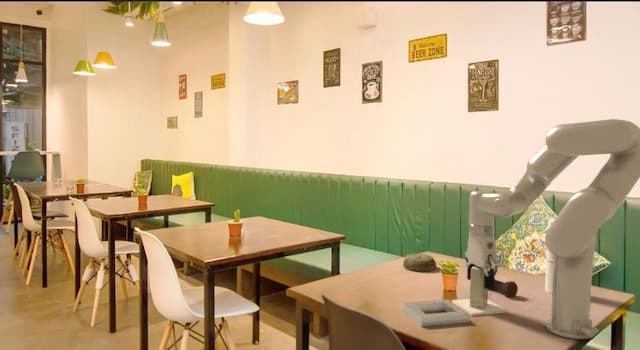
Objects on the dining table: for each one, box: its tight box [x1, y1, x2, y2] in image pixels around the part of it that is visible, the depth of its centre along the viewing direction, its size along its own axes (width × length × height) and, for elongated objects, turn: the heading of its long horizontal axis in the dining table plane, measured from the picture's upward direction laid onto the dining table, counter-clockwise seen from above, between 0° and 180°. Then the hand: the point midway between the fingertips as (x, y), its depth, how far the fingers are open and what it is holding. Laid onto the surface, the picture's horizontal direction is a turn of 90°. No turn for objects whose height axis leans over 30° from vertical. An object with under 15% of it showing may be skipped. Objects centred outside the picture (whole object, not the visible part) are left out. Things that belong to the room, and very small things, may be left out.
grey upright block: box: [469, 265, 490, 308], centre depth 153 cm, size 6×4×12 cm
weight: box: [402, 253, 437, 272], centre depth 200 cm, size 14×13×5 cm
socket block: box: [402, 298, 470, 327], centre depth 145 cm, size 13×15×2 cm
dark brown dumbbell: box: [490, 279, 519, 298], centre depth 170 cm, size 6×5×15 cm
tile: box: [451, 298, 508, 317], centre depth 153 cm, size 12×12×1 cm
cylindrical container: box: [544, 218, 556, 294], centre depth 169 cm, size 7×7×25 cm
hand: (480, 283), depth 152 cm, fingers open, 9 cm apart
